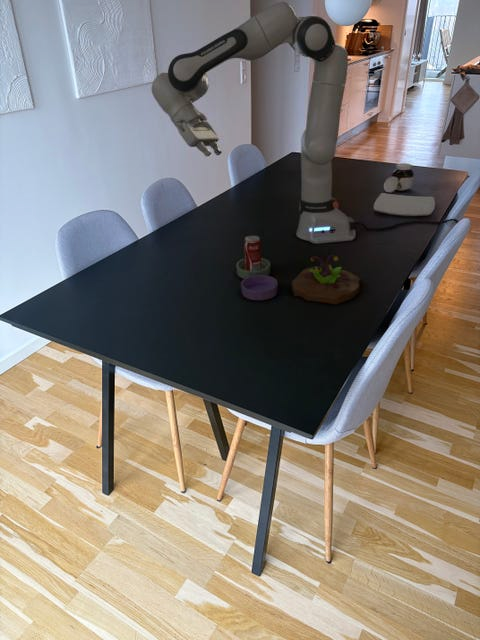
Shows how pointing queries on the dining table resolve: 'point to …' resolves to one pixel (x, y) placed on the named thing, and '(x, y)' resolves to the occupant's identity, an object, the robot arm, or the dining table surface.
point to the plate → (404, 205)
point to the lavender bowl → (259, 287)
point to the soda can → (252, 253)
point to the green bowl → (244, 273)
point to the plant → (326, 283)
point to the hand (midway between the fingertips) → (214, 154)
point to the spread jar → (400, 179)
